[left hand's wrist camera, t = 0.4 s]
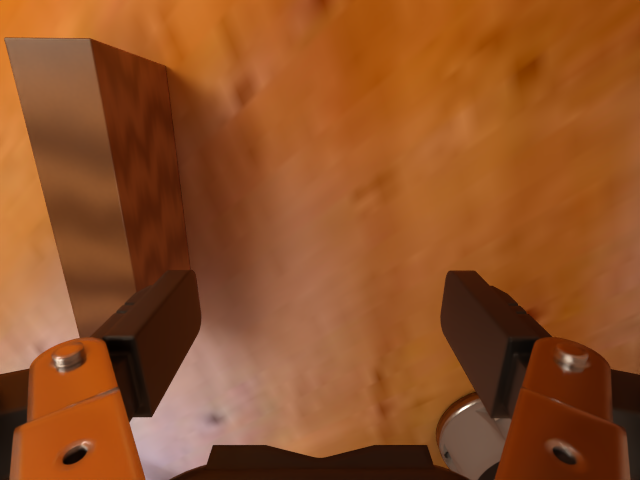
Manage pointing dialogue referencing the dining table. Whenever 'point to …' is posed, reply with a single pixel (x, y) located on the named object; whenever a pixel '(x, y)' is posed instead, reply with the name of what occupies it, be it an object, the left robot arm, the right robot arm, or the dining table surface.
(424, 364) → the dining table surface
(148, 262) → the box
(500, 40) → the dining table surface
